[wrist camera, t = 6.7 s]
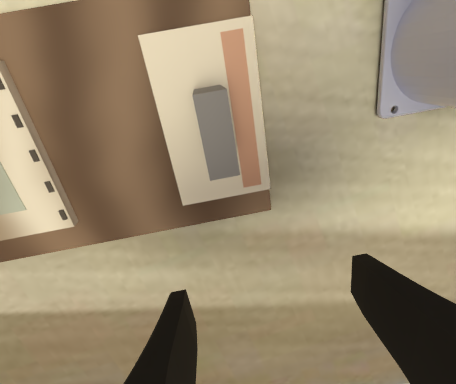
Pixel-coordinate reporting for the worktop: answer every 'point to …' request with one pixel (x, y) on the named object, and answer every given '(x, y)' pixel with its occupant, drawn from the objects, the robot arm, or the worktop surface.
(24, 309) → the worktop surface
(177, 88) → the stub
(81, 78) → the ticket board
